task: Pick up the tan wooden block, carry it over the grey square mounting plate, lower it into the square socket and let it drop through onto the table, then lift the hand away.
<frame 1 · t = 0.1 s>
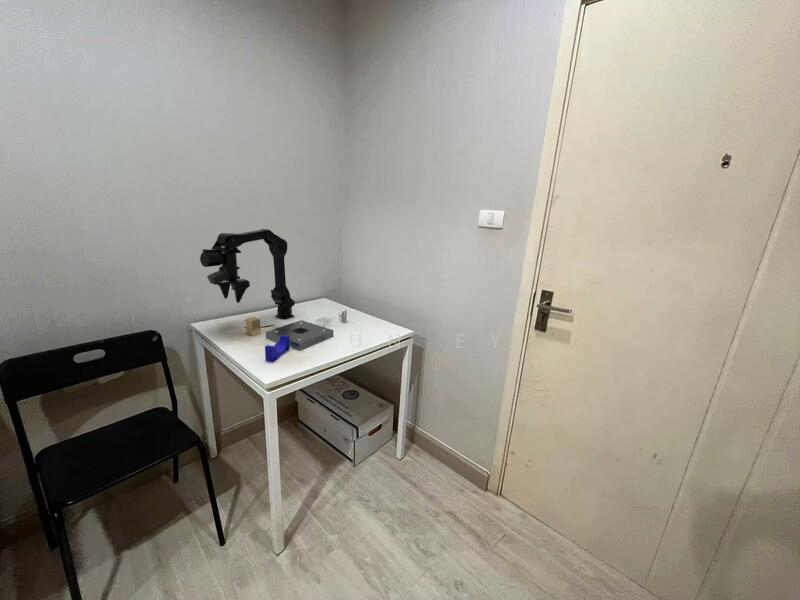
hand: (231, 300, 140), 14 cm above the table, fingers open, 9 cm apart
architectural model: (332, 324, 164), on the table
tan wooden block: (253, 333, 144), on the table
grey square mounting plate: (300, 337, 144), on the table
blue u-shaped bracket: (276, 355, 126), on the table
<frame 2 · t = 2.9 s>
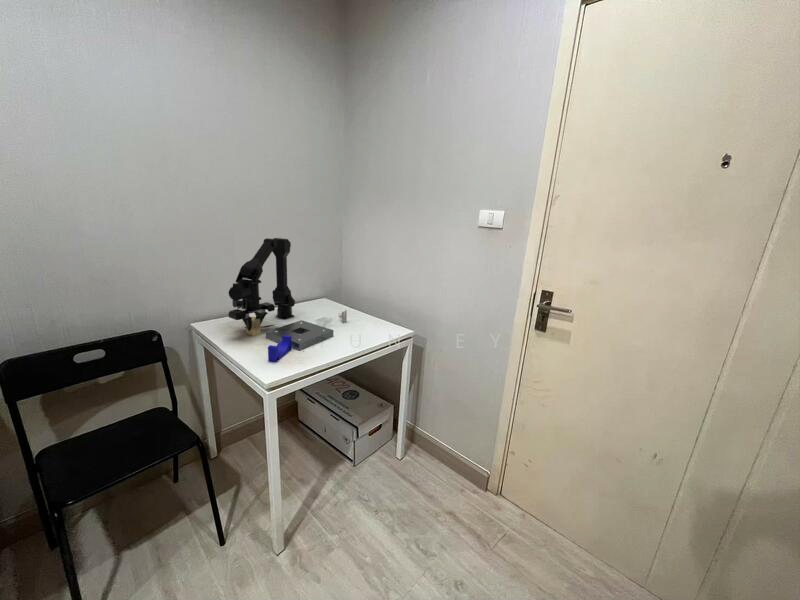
hand: (253, 329, 144), 2 cm above the table, fingers closed on tan wooden block, 4 cm apart
tan wooden block: (253, 333, 144), on the table, touching gripper
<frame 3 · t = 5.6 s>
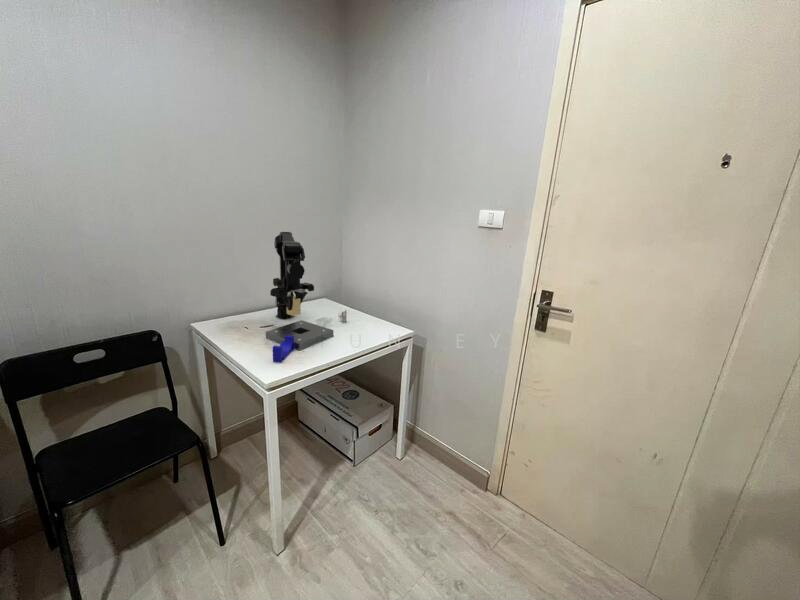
hand: (293, 309, 140), 13 cm above the table, fingers closed on tan wooden block, 4 cm apart
tan wooden block: (293, 313, 141), point 11 cm above the table, touching gripper
blue u-shaped bracket: (282, 355, 126), on the table
everything else where it was.
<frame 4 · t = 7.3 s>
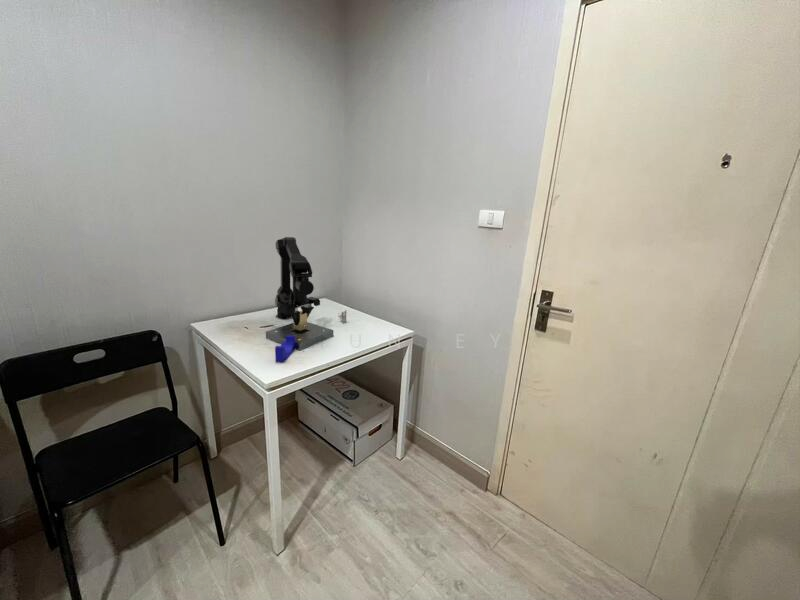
hand: (300, 323, 142), 6 cm above the table, fingers closed on tan wooden block, 4 cm apart
tan wooden block: (300, 328, 143), point 4 cm above the table, touching gripper
when the fingers open (4 cm above the table, at t = 8.6 s): tan wooden block drops 2 cm, resting in grey square mounting plate.
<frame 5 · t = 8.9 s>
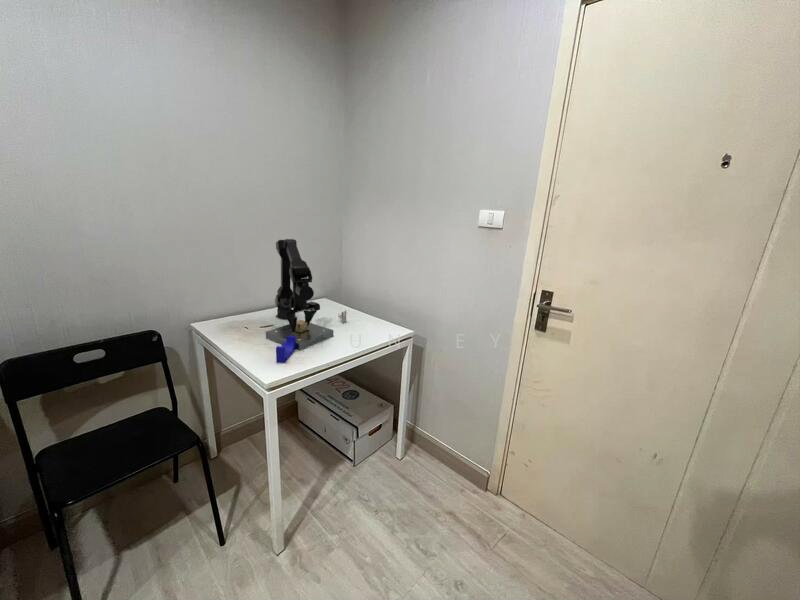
hand: (300, 328, 143), 4 cm above the table, fingers open, 7 cm apart
tan wooden block: (300, 337, 144), resting in grey square mounting plate
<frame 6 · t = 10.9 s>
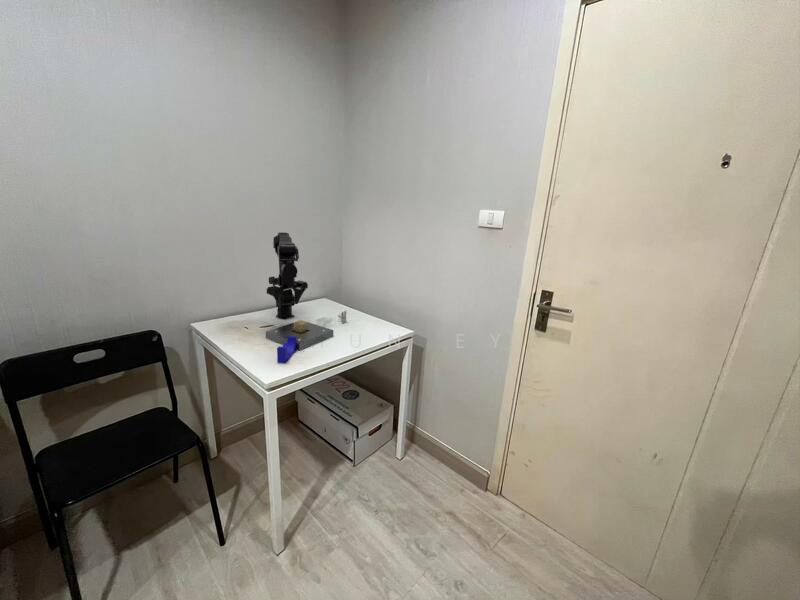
hand: (288, 306, 148), 11 cm above the table, fingers open, 9 cm apart
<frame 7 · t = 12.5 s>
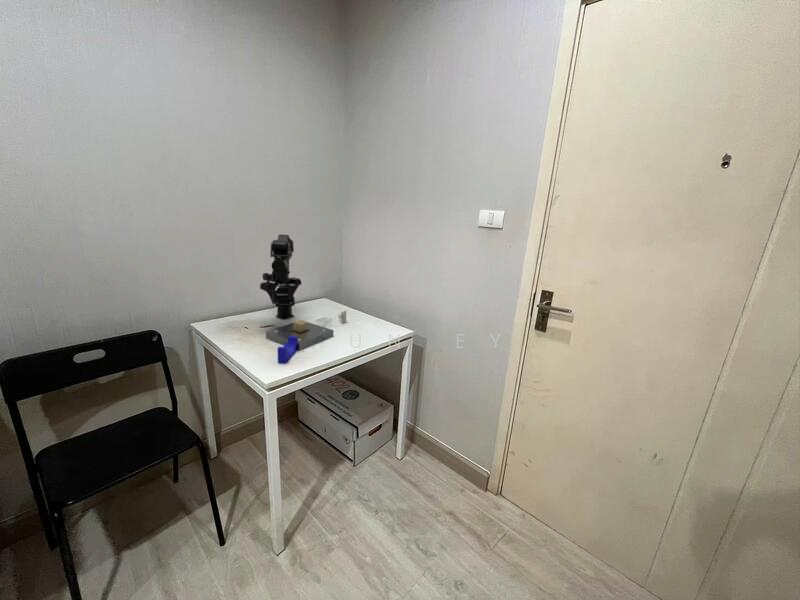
hand: (282, 302, 152), 12 cm above the table, fingers open, 9 cm apart
at the end: tan wooden block 0.0 cm off-centre on the grey square mounting plate, point 0.0 cm above the grey square mounting plate's base; tan wooden block tilted 0°; the gripper is holding nothing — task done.
